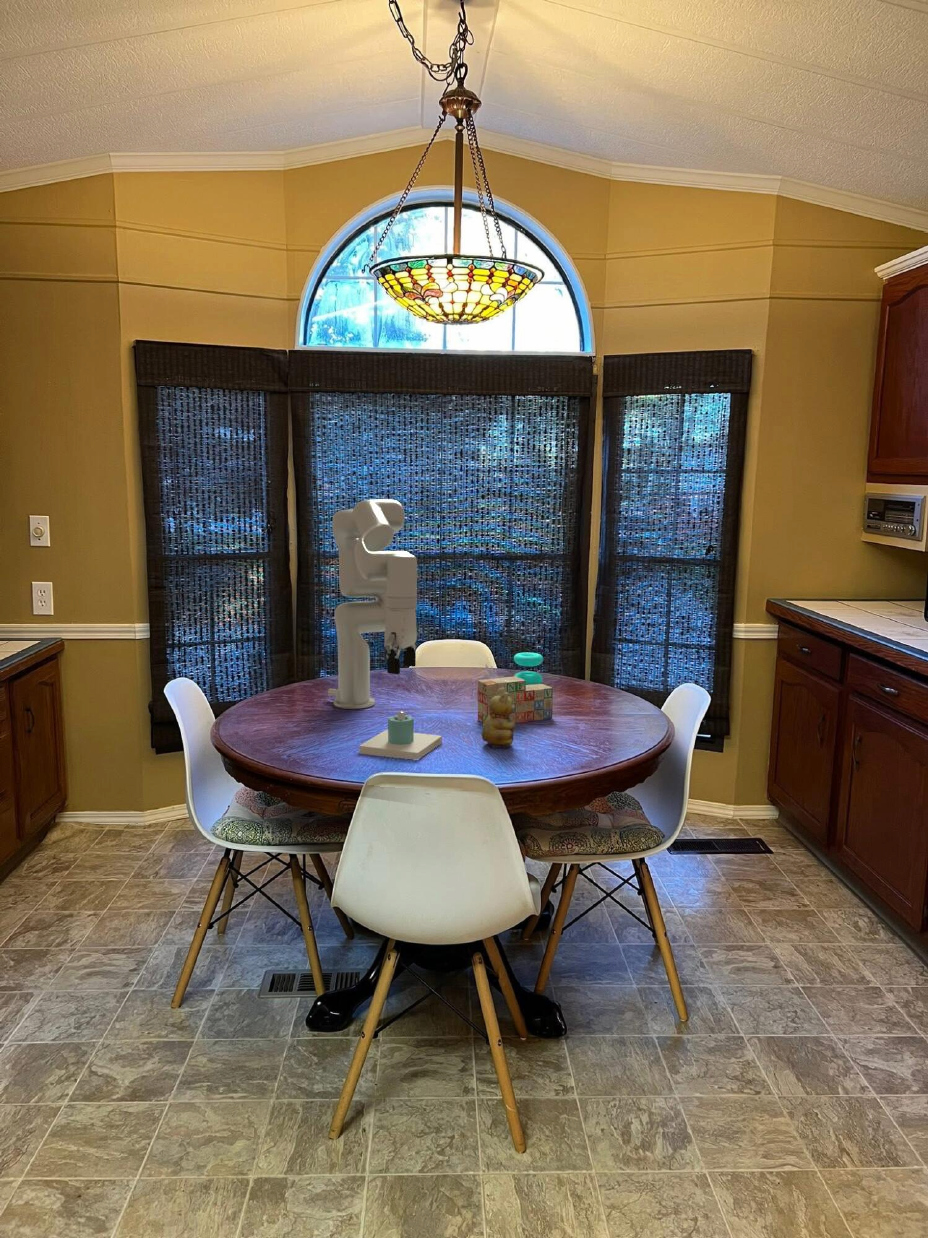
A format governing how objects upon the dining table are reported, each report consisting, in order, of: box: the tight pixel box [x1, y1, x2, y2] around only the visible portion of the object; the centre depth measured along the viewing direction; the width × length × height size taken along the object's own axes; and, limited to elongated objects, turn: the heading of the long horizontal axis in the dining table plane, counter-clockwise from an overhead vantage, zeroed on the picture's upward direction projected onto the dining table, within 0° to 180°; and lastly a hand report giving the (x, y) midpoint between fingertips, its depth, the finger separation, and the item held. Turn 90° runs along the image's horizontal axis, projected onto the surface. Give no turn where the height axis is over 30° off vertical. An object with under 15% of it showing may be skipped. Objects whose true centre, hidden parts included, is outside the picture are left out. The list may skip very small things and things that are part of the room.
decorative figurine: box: [481, 688, 516, 748], centre depth 233 cm, size 10×8×15 cm
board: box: [358, 710, 443, 760], centre depth 229 cm, size 16×16×10 cm
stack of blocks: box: [477, 675, 554, 725], centre depth 258 cm, size 21×6×12 cm, turn 115°
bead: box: [387, 714, 415, 745], centre depth 229 cm, size 6×6×6 cm
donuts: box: [513, 651, 544, 685], centre depth 305 cm, size 10×10×10 cm
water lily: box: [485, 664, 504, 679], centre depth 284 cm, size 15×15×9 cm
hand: (401, 669), depth 228 cm, fingers open, 9 cm apart
